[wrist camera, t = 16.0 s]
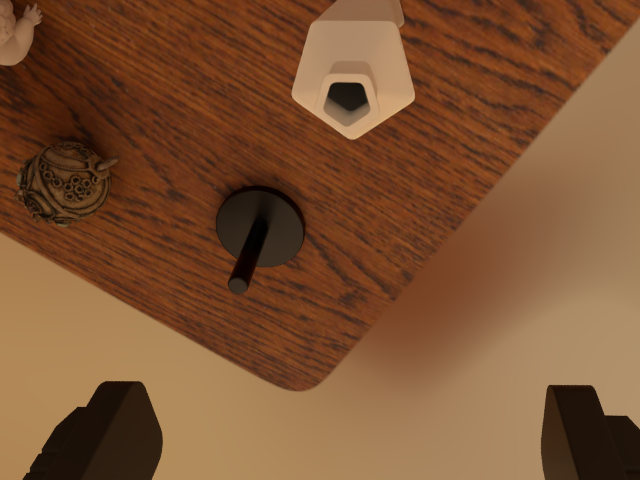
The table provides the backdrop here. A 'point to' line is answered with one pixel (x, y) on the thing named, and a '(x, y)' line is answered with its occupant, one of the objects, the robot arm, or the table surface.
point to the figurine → (16, 32)
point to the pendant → (64, 183)
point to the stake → (258, 231)
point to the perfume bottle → (355, 66)
